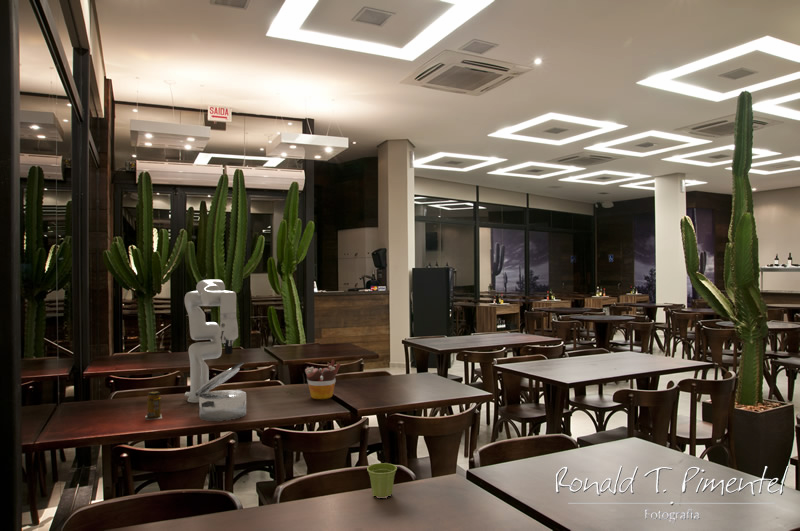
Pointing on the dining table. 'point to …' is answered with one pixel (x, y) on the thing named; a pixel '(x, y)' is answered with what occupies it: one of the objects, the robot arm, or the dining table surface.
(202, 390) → the cooker lid
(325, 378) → the bucket of meat
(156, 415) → the condiment
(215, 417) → the cooker pot
